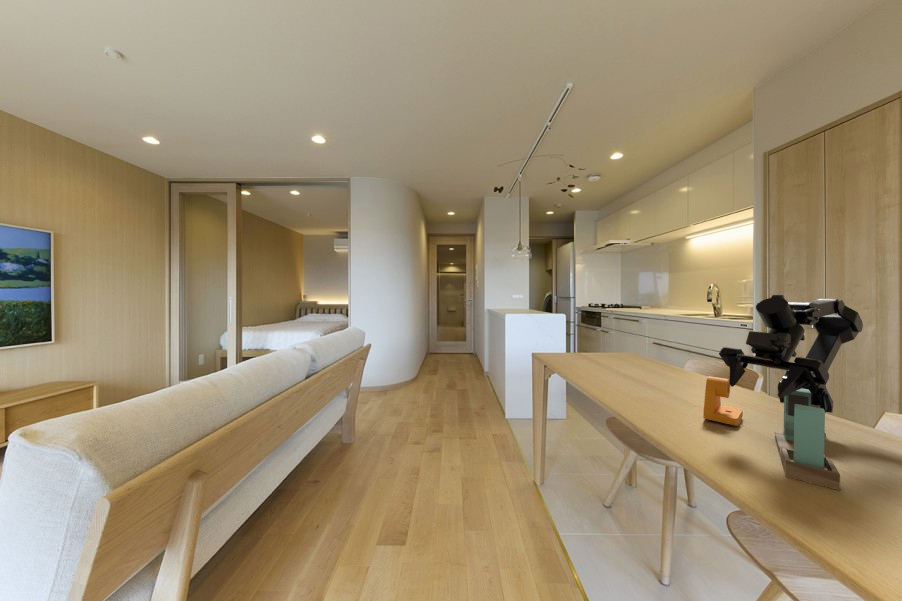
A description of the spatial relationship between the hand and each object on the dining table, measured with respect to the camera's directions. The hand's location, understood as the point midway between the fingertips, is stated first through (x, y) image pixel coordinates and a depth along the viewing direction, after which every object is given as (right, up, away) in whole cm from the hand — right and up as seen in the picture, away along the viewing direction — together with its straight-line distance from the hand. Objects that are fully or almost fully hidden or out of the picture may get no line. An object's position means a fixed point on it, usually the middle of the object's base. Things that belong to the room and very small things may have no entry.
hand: (753, 390), depth 76 cm
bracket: (+7, -13, +17) cm, 22 cm away
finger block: (+1, -12, -11) cm, 17 cm away
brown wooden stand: (+5, -14, -6) cm, 16 cm away
